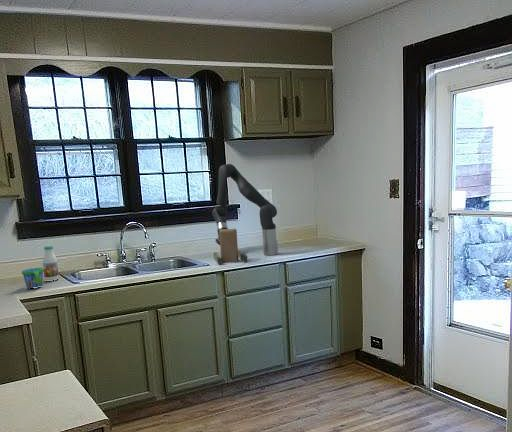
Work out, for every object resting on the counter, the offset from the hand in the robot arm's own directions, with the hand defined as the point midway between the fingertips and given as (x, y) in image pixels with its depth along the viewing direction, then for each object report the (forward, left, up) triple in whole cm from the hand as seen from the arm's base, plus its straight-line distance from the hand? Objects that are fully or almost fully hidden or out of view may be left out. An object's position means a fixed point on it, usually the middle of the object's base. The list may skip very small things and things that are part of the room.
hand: (226, 250), depth 312 cm
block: (0, +17, -5) cm, 17 cm away
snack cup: (+110, +42, -5) cm, 118 cm away
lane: (0, +15, -4) cm, 15 cm away
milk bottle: (+105, +25, -5) cm, 108 cm away
